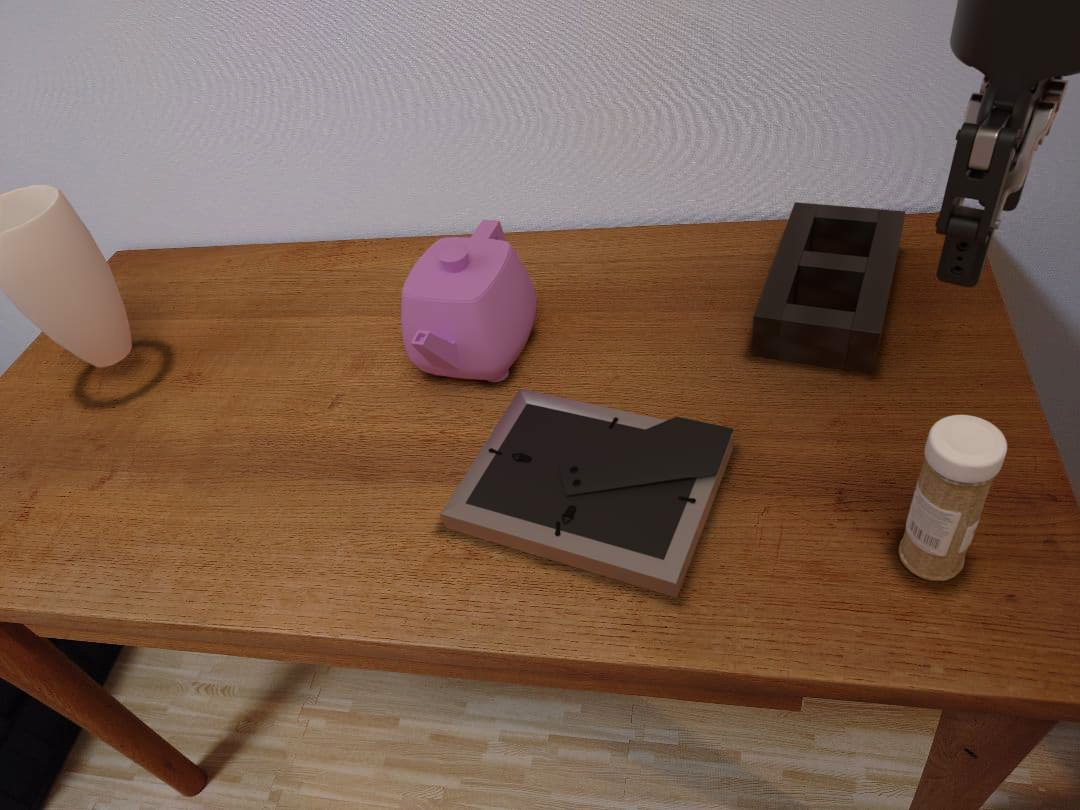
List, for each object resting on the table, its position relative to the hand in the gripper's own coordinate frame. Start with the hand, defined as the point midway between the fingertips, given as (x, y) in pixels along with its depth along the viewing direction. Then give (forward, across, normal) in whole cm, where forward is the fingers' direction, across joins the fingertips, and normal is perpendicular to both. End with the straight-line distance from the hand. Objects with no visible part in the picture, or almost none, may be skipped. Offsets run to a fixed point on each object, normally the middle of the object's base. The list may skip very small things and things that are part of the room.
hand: (978, 242), depth 48 cm
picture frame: (+24, -12, +23) cm, 35 cm away
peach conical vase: (+24, -23, +80) cm, 87 cm away
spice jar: (+24, -6, -3) cm, 25 cm away
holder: (+24, +20, +15) cm, 34 cm away
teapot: (+24, -2, +44) cm, 50 cm away
